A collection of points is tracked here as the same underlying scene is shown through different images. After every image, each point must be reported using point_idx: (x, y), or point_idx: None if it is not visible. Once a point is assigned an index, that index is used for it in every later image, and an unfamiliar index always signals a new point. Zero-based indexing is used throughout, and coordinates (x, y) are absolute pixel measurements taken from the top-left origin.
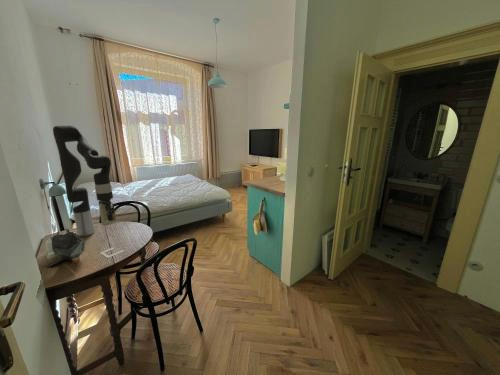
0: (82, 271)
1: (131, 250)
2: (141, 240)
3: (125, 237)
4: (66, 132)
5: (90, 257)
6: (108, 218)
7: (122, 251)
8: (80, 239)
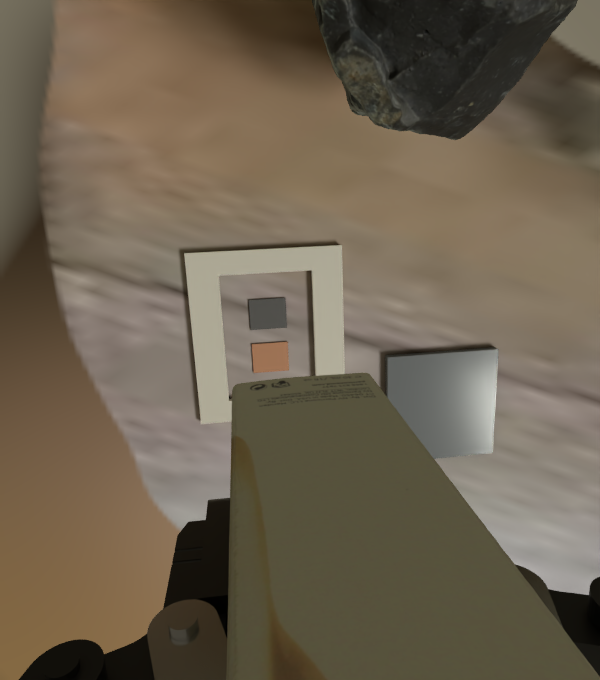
0: (131, 32)
1: (166, 433)
2: None
3: None
4: None
5: (333, 167)
6: (206, 529)
7: (199, 378)
8: (394, 58)
